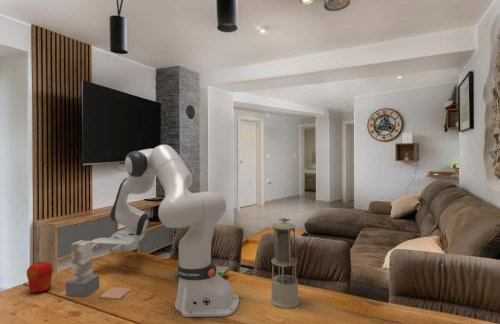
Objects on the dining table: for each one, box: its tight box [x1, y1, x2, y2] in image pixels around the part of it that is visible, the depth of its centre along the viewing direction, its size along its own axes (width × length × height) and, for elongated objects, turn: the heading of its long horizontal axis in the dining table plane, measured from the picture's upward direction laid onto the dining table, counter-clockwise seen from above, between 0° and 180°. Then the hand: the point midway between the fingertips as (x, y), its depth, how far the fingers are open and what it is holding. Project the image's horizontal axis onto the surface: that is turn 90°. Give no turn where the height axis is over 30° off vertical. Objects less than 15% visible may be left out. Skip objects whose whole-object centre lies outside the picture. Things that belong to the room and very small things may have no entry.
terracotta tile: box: [99, 286, 133, 301], centre depth 119 cm, size 8×8×1 cm
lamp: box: [270, 217, 301, 309], centre depth 113 cm, size 10×13×30 cm
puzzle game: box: [173, 265, 230, 280], centre depth 133 cm, size 12×5×20 cm
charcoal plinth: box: [65, 274, 100, 298], centre depth 121 cm, size 8×8×5 cm
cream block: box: [70, 239, 94, 282], centre depth 121 cm, size 5×5×14 cm
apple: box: [26, 261, 54, 294], centre depth 122 cm, size 9×8×12 cm
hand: (101, 250), depth 132 cm, fingers open, 8 cm apart
